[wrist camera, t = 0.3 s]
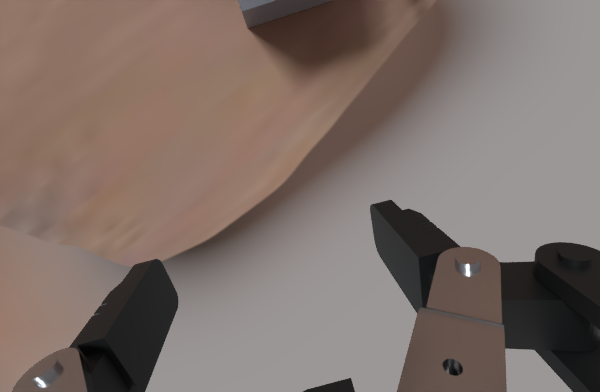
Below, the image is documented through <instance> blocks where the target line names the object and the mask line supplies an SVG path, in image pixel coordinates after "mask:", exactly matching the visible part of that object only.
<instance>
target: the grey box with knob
mask: <svg viewBox="0 0 600 392" xmlns="http://www.w3.org/2000/svg"><path fill="white" fill-rule="evenodd" d="M238 1H239V4H240V7H241V10H242V13H243V16H244V19H245V22H246V25H247V28H251V27H254V26H257V25H260V24H263V23H266V22H269V21H272V20H275V19H278V18H281V17H284V16H287V15H290V14H293V13H297V12H300V11H303V10H306V9H309V8H312V7H315V6H318V5H321V4H324V3H327V2H330V1H333V0H238Z"/></svg>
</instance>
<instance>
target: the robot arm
mask: <svg viewBox="0 0 600 392" xmlns="http://www.w3.org/2000/svg"><path fill="white" fill-rule="evenodd" d="M370 212H371V219H372V226H373V233H374V239H375V244H376V248H377V251H378V253H379V255H380V257H381V259H382V260H383V262H384V263H385V265H386V266H387V268H388V269H389V271H390V273H391V274H392V276H393V277H394V279H395V280H396V282H397V283H398V285H399V286H400V288H401V289H402V291H403V292H404V294H405V295H406V297H407V298H408V300H409V301H410V303H411V305H412V306H413V308H414V309H415V311H416V312H417V318H416V322H415V325H414V329H413V333H412V337H411V341H410V344H409V348H408V352H407V356H406V359H405V363H404V367H403V371H402V375H401V378H400V382H399V386H398V390H397V392H506V365H505V364H506V363H505V348H510V349H532V350H535V351H536V352H537V353H538V354H539V355H540V356H541V357H542V358H543V359H544V360H545V362H546V363H547V364H548V365H549V366H550V367H551V368H552V369H553V370H554V372H555V373H556V374H557V375H558V376H559V377H560V378H561V379H562V380H563V381H564V382H565V383H566V385H567V386H568V387H569V388H570V389H571V390H572V391H573V392H600V251H599V250H596V249H594V248H591V247H588V246H584V245H580V244H574V243H562V242H558V243H550V244H545V245H543V246H540V247H539V248H538V249H537V250H536V253H535V261H534V262H510V263H502V262H499V261H498V260H497V259H496V258H495V257H494V256H492V255H491V254H489V253H487V252H485V251H483V250H480V249H476V248H470V247H460V246H459V245H458V244H457V243H455V242H454V241H453V240H452V239H451V238H450V237H448V236H447V235H446V234H445V233H444V232H443V231H441V230H440V229H439V228H437V227H436V226H435V225H434V224H433V223H432V222H430V221H429V220H428V219H427V218H426V217H425V216H423V215H422V214H421V213H419V212H416V211H413V210H411V209H406V210H401V209H400V208H399V207H398V206H397V205H396V204H395V203H394V202H393V201H392V200H388V201H384V202H380V203H376V204H372V205H371V206H370ZM177 308H178V296H177V292H176V290H175V288H174V286H173V284H172V282H171V280H170V278H169V276H168V274H167V272H166V270H165V268H164V266H163V264H162V262H161V261H160V260H158V259H154V260H150V261H146V262H143V263H139V264H135V265H134V266H133V267H132V269H131V270H130V272H129V273H128V275H127V276H126V277H125V279H124V280H123V281H122V282H121V283H120V284H119V285H118V286H117V287H116V288H114V289H113V290H112V291H111V292H110V293H109V294H108V296H107V297H106V298H105V300H104V301H103V302H102V306H100V307H99V308H98V309H97V310H96V312H95V313H94V316H92V317H91V319H90V320H89V321H88V323H87V324H86V325H85V327H84V328H83V329H82V331H81V332H80V334H79V335H78V336H77V337H76V339H75V340H74V342H73V343H72V344H71V345H70V347H69V348H65V349H62V350H59V351H56V352H54V353H53V354H50V355H49V356H47V357H45V358H44V359H42V360H41V361H39V362H38V363H36V364H35V365H34V366H33V367H31V368H30V369H29V370H28V371H27V372H26V373H25V374H24V375H23V376H22V377H21V378H20V379H19V381H18V382H17V383H16V385H15V386H14V388H13V391H12V392H145V390H146V388H147V385H148V383H149V380H150V377H151V375H152V372H153V369H154V367H155V365H156V362H157V359H158V357H159V354H160V352H161V349H162V347H163V344H164V342H165V339H166V336H167V334H168V331H169V329H170V326H171V324H172V321H173V318H174V316H175V313H176V311H177ZM304 392H355V391H354V387H353V384H352V381H351V378H349V379H345V380H341V381H338V382H334V383H330V384H326V385H323V386H319V387H315V388H311V389H307V390H305V391H304Z"/></svg>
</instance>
